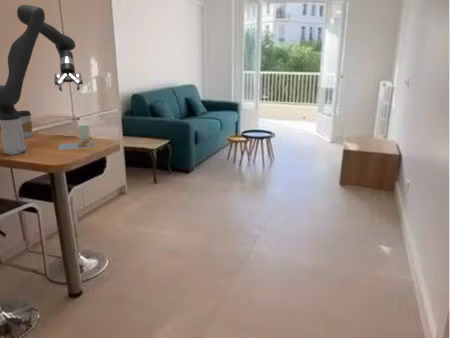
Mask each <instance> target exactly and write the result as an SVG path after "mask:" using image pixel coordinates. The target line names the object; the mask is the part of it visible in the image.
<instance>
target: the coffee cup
mask: <svg viewBox="0 0 450 338" xmlns="http://www.w3.org/2000/svg"><path fill="white" fill-rule="evenodd" d="M17 111H18V112H19V113H20V117H21V123H22V128H23V134H24V139H25V138H32V137H33V135H34V134H33V122H32V113H31V112H30V111H29V110H17Z"/></svg>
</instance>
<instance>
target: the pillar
mask: <svg viewBox="0 0 450 338" xmlns="http://www.w3.org/2000/svg"><path fill="white" fill-rule="evenodd" d="M78 130H79V131H78V132H79V138H81V141H83V140H90V137H91V136H90V129H89V123H79V124H78Z"/></svg>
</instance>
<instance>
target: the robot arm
mask: <svg viewBox="0 0 450 338" xmlns="http://www.w3.org/2000/svg"><path fill="white" fill-rule="evenodd" d="M44 11H45V10H44V9H43V8H42V7H39V6H34V5H29V4H22V5H19V6H18V8H17V11H16V16H17V18H18V20H19V21H20V22H21V23H22V24H24V25H26V26H27V27H26V29H25V30H24V32H23V33H22V34H21V35H20V36H19V37H17V38H16V39H15V40H14V42H12V44H11V46H10V49H9V52H8V54H7V55H8V56H7V67H8V76H7V79H6V81H5V85H2V84H1V85H0V130H1V134H0V139H1V144H2V149H3V154H6V155H11V156H12V155H18V154H19V155H20V154H25V153H26V151H27V147H26V141H25V138H24V134H23V128H22V123H21V117H20V113H19V112H18V111H19V110H17V109H16V108H15V105H17V104H18V102H19V101H20V98H21V95H22V89H23V84H24V80H25V77H26V73H27V70H28V67H29V64H30V61H31V58H32V55H33V51H34V47H35V45H36V42H37V40H38V37H39V34H41V35H42V36H44V37H45V38H46V39H48V40H49V41H50V42H51V43H52V44H54V45H55V46H54V47H55V49H56V50H57V53H58V55H59V68H60V69H59V70H60V74H58V73H54V75H53V76H54V78H53V79H54V81H53V82H54V85H55V86H58V90H59V91H60V92H63V88H62V85H63V84H65V83H74V84H75V85H76V90H77V91H80V89H81V87H80V85H83V84H84V83H83V77H82V73H81V72H79V73H78V74H76V70H75V69H76V67H75V62H74V55H73V53H72V51H73V50H75V47H76V42H75V41H74V39H72V38H71V37H70V36H68V35H66V34H63V33H61V32H60V31H59V30H58V29H57V28H55V27H54V26H52V25H51V24H49V23H47V22H45V18H46V16H45V14H46V13H45V12H44ZM77 78H78V79H77Z"/></svg>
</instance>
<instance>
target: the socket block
mask: <svg viewBox="0 0 450 338" xmlns="http://www.w3.org/2000/svg"><path fill="white" fill-rule="evenodd" d="M89 137H90V140H83V141H81V138H80V137H78V138H77V143H78V147H86V146H94V143H93V142H94V137H93V136H89Z"/></svg>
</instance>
